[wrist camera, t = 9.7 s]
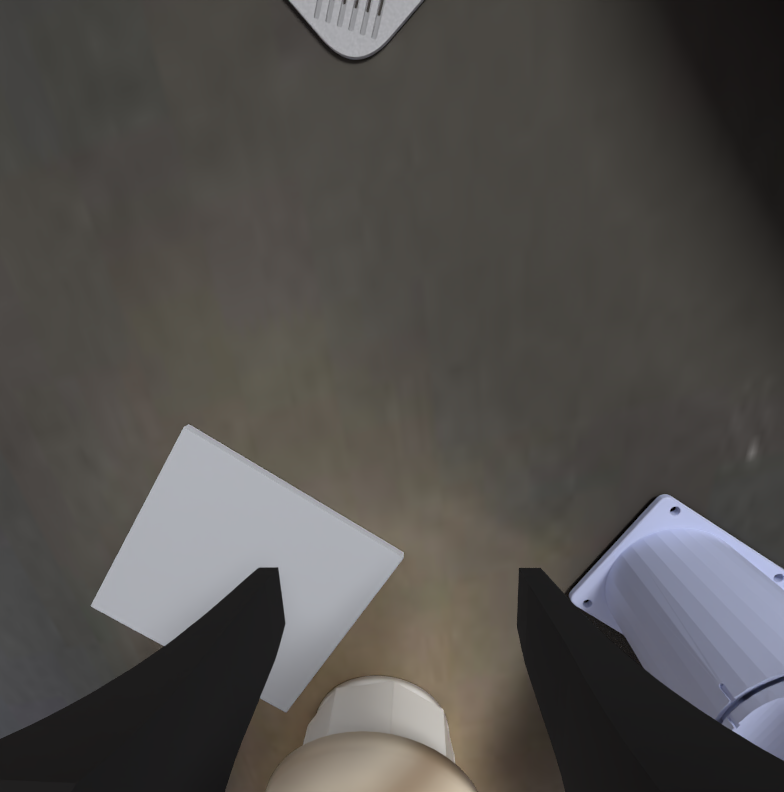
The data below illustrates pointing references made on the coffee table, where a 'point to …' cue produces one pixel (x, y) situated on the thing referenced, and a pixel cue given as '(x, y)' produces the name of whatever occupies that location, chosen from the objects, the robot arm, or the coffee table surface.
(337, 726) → the bowl
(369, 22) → the handheld gaming device
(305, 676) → the mat
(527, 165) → the coffee table surface
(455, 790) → the lid
